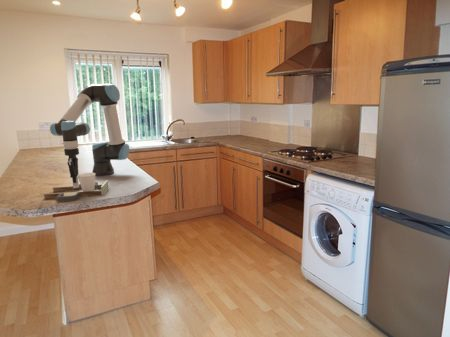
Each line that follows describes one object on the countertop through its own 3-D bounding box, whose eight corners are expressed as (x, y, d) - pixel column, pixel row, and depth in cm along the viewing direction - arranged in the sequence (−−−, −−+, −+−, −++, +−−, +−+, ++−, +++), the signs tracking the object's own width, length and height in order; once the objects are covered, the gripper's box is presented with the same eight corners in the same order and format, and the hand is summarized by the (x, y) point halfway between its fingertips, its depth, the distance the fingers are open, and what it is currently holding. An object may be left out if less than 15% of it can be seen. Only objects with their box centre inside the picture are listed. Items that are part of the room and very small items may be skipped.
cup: (76, 193, 194) (73, 175, 192) (90, 189, 203) (88, 171, 200) (86, 195, 189) (84, 177, 187) (101, 191, 198) (99, 173, 195)
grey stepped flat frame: (54, 191, 200) (53, 187, 200) (106, 188, 205) (106, 184, 204) (44, 198, 185) (43, 194, 185) (101, 195, 190) (101, 191, 189)
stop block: (106, 188, 205) (106, 180, 203) (108, 188, 205) (108, 180, 204) (101, 195, 190) (100, 186, 189) (103, 195, 190) (102, 186, 189)
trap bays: (72, 187, 208) (72, 183, 208) (98, 185, 211) (97, 182, 210) (56, 201, 180) (56, 197, 179) (86, 199, 182) (85, 195, 181)
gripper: (67, 146, 195) (72, 185, 200) (60, 150, 182) (66, 191, 187) (81, 146, 196) (85, 184, 201) (75, 149, 183) (79, 190, 188)
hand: (76, 187), depth 194 cm, fingers closed
